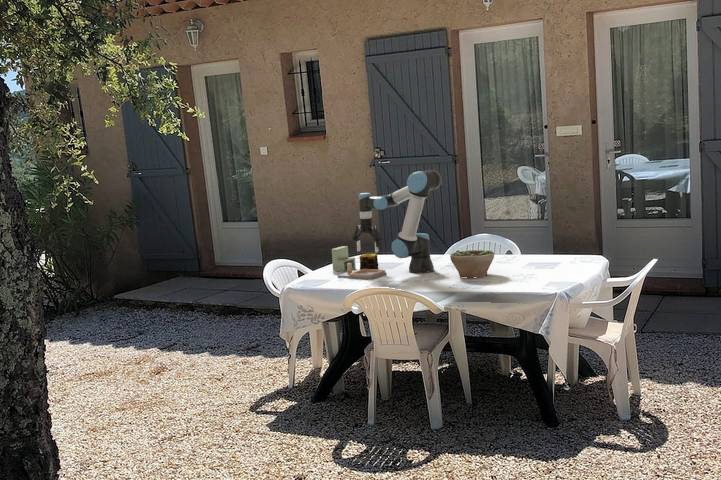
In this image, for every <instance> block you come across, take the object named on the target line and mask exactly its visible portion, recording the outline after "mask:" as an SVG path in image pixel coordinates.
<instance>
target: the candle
mask: <svg viewBox="0 0 721 480" xmlns="http://www.w3.org/2000/svg"><path fill="white" fill-rule="evenodd" d="M358 258H359V263H360V264H359V270H362V269H376V270H379V262H378V253H362V254H361V255H359V257H358Z"/></svg>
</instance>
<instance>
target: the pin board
mask: <svg viewBox="0 0 721 480" xmlns="http://www.w3.org/2000/svg"><path fill="white" fill-rule="evenodd" d="M387 274H388V273H387V271H386V269H378V270H376V269H362V270H360V269H359V270H354V269H352V263H347V271H345V272H343V273H341V274H338V275H337V278H341V277H344V278H343V279H355V280H356V279H358V280H359V279H360V280H375V279H377V278H380V277H384V276H387Z"/></svg>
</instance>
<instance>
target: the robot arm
mask: <svg viewBox="0 0 721 480" xmlns="http://www.w3.org/2000/svg"><path fill="white" fill-rule="evenodd" d="M442 181H443V180H442V176H441V173H439V172H438V171H437V170H434V169H429V170H422V171H421V170H418V171H416V172H412V173H411V174H410V175H409V176H408V178H407V181H406V186H404V187H402V188H400V189H398V190H396V191H393V192H391V193H389V194H387V195H380V196H372V194H371V192H361V193H360V192H359V195H358V207H359V218H360V219H359V222H360V223H359V224H357V225H356V226H355V227H356V229H355V232H354V234H353V238H352V240H353V241H355V246H356V251H357V252H361V249H362V248H361V240H360V239H361V237H362V236H363V234H365V233H366V234H369V235H370V236H371V237H372V239H373V240H374V252H375V253H374V254H378V252H379V250H380V249H379V247H380V242H382V241H383V240H382V239H383V238H382V237H381V235H380V233H379V230H378V228H377V225H373V218H372V217H373V213H372V210H385V209H386V208H391V207H393V208H394V207H397V206H399V205H400V204H401V203H404V202H405V201H407V200H408V204H407V207H406V212H405V216H404V221H403V225H402V229H401V231H399V233H398V234H397V238H396V239H393V241H392V243H391V250H392V252H393V255H394V256H395V257H396V258H399V259H407V258H411V259H410V263H409V266H408V271H409V273H413V274H414V273H415V274H424V273H430V272H434V271H435V266H434V263H433V261H432V259H431V243H430V242H431V241H430V240H431V239H430V236H429V234H428V233H421V232H419V233H418V232H417V231H418V227H419V223H420V219H421V215H422V211H423V209H424V205H425V200H426V199H427V198H428V197H429V195H430V192H431V191H434V190H437V189H438V188H439V187H440V186H441V184H442Z"/></svg>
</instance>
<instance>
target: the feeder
mask: <svg viewBox="0 0 721 480" xmlns="http://www.w3.org/2000/svg"><path fill="white" fill-rule="evenodd" d="M331 259H332V261H331V262H332V271H333V272H341V271H342V272H343V273H346V272H348V271H347V263H352V270H354V269H356V266H357V265H356V257H355V256H354V257H352V256H351V257H350V256H349V247H348V245H345V246H343V245H342V246H338V247H335V248H331Z"/></svg>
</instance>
